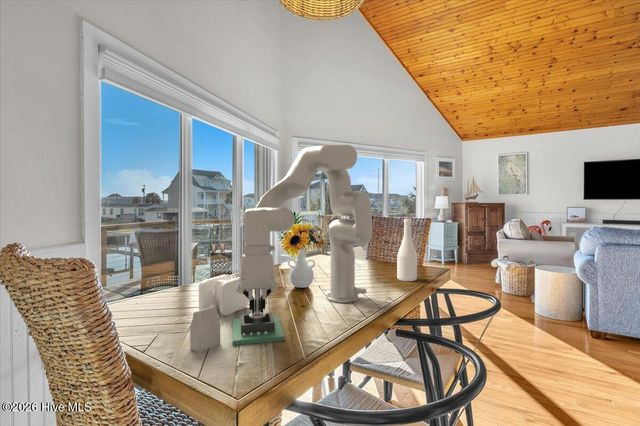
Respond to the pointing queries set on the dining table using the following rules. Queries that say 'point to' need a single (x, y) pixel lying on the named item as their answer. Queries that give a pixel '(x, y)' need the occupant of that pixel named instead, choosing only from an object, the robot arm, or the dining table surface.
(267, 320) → the board
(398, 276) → the wine bottle
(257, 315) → the screw
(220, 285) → the cable organizer
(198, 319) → the tea bag
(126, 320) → the dining table surface
